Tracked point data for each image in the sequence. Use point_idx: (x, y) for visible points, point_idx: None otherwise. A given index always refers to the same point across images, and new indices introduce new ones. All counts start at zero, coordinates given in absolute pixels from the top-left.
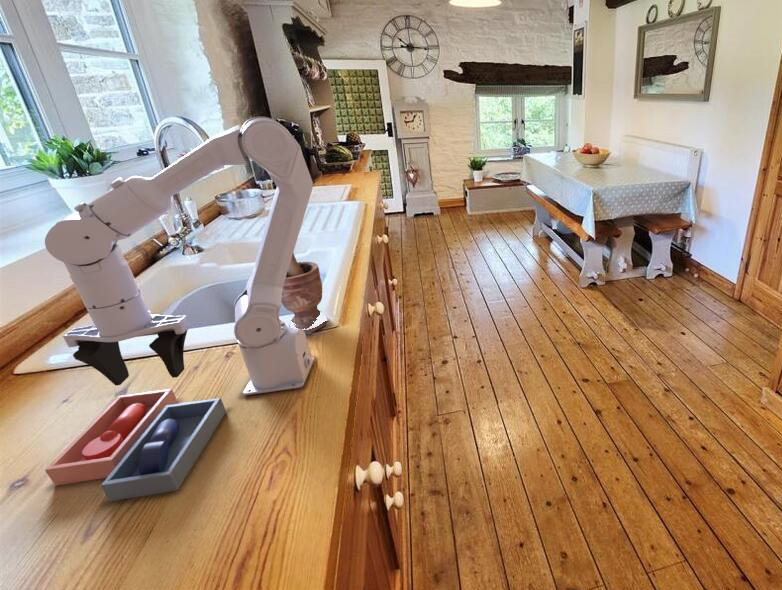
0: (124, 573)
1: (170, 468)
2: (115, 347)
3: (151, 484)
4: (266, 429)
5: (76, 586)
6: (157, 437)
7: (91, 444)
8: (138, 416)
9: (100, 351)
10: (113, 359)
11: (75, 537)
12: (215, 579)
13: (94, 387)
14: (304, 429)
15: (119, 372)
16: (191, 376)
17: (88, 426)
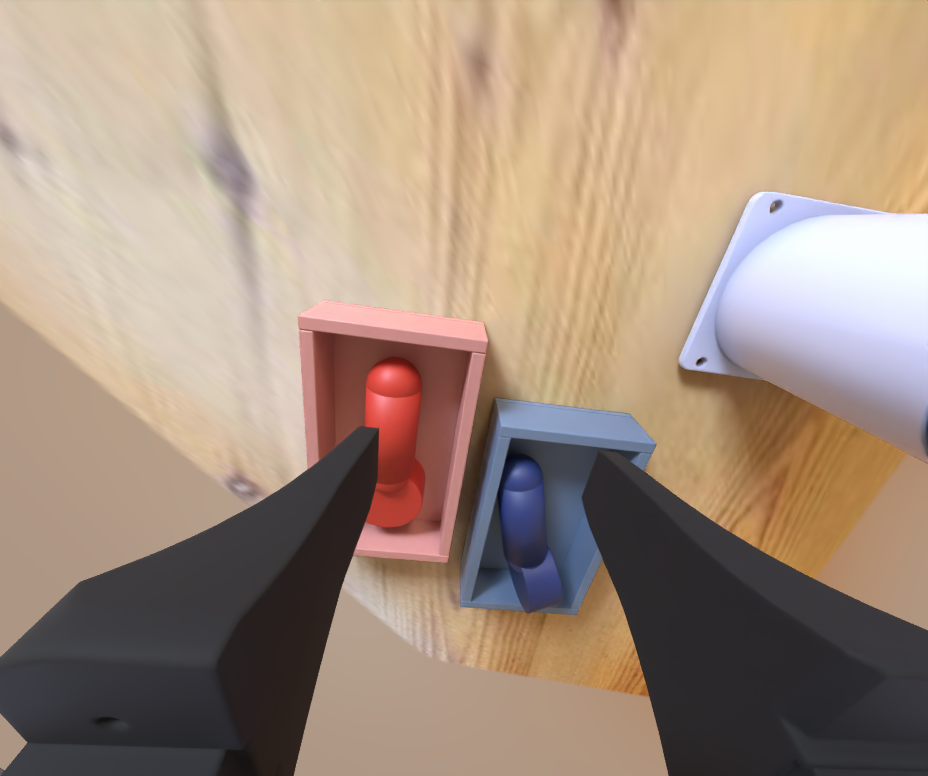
0: (531, 648)
1: (574, 605)
2: (306, 570)
3: None
4: (715, 496)
5: (481, 647)
6: (532, 554)
7: None
8: (418, 413)
9: (290, 718)
10: (334, 554)
11: (440, 601)
12: (632, 670)
13: (47, 57)
14: (786, 517)
15: (365, 494)
16: (478, 151)
17: (307, 447)
